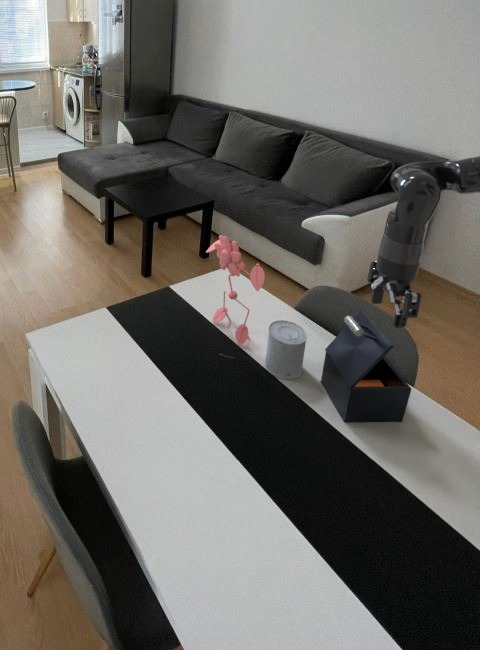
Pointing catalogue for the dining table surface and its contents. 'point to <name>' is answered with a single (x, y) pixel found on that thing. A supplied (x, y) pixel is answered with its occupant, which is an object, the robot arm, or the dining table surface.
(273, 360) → the grey tin can
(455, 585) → the dining table surface
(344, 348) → the bin lid
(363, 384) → the block
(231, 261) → the figurine
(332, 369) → the bin
